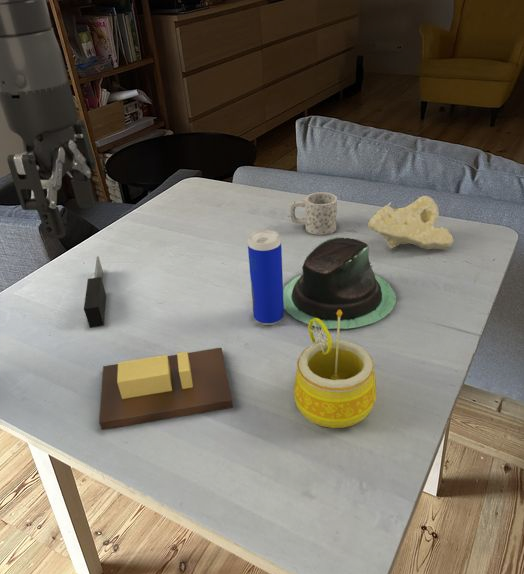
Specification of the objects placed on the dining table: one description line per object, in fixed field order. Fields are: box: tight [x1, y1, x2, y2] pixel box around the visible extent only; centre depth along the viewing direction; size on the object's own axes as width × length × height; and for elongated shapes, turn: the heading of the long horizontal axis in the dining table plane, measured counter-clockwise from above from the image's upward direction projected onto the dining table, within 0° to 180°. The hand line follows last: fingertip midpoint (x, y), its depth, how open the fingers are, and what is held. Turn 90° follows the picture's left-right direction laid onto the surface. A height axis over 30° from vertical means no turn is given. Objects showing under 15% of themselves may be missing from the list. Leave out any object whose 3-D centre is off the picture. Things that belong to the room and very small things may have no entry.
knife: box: [83, 256, 107, 329], centre depth 98 cm, size 19×2×4 cm, turn 11°
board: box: [98, 347, 234, 431], centre depth 77 cm, size 18×12×2 cm, turn 101°
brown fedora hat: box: [283, 236, 397, 330], centre depth 92 cm, size 15×19×20 cm
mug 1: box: [289, 191, 338, 236], centre depth 114 cm, size 10×7×7 cm, turn 77°
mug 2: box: [293, 310, 377, 429], centre depth 70 cm, size 13×11×12 cm
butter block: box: [117, 354, 172, 399], centre depth 76 cm, size 7×4×3 cm, turn 101°
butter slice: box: [176, 350, 193, 389], centre depth 76 cm, size 2×4×3 cm, turn 11°
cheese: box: [367, 195, 454, 250], centre depth 106 cm, size 15×7×15 cm
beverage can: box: [247, 229, 285, 326], centre depth 86 cm, size 5×5×15 cm
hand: (72, 221), depth 67 cm, fingers open, 8 cm apart
